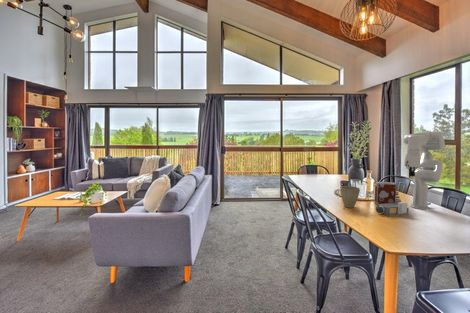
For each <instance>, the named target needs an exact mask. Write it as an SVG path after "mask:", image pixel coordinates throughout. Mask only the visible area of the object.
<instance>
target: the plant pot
mask: <svg viewBox="0 0 470 313" xmlns="http://www.w3.org/2000/svg"><path fill="white" fill-rule="evenodd" d="M360 190H361V188H360V187H357V186H351V185H342V186H340V195H341V200H342V203H343V206H344V207H345V208H349V209H350V208H351V209H352V208H354V207H355V206H356V203H357V201H358V199H359V195H360Z"/></svg>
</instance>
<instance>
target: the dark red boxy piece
mask: <svg viewBox="0 0 470 313" xmlns="http://www.w3.org/2000/svg"><path fill="white" fill-rule="evenodd" d="M400 202H402V199H401V198H400V196H399V191H398V190H397V183H396V182H390V181H389V182H387V181H386V182H385V181H383V182H381V181H376V182H375V184H374V204H375V205H376V206H377V204H387V203H400Z"/></svg>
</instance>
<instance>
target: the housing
mask: <svg viewBox="0 0 470 313" xmlns="http://www.w3.org/2000/svg"><path fill="white" fill-rule="evenodd" d="M375 211H376V213H378V214H381V215H384V216H389V217H396V216H405V215H406V216H407V215H409V207H407V213H403V214H398V203H387V204H377V205H376V207H375Z"/></svg>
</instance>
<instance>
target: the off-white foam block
mask: <svg viewBox="0 0 470 313" xmlns="http://www.w3.org/2000/svg"><path fill="white" fill-rule="evenodd" d="M407 208H408V202H407V201H403V202H402V201H401V202H400V203H398V214H403V213H407Z"/></svg>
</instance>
